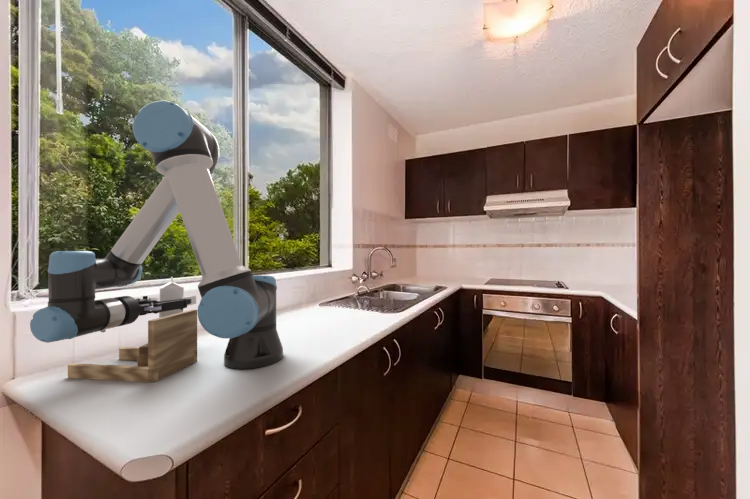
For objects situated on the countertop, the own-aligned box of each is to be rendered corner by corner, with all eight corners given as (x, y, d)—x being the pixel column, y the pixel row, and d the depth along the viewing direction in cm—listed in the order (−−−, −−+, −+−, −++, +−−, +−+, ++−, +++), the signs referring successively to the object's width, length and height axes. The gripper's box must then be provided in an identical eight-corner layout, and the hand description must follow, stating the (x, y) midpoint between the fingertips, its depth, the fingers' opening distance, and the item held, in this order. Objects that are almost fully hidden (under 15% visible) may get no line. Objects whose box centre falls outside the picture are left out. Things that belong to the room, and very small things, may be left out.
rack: (197, 361, 84) (197, 309, 84) (153, 382, 70) (153, 320, 70) (123, 357, 87) (123, 308, 87) (67, 377, 73) (67, 318, 73)
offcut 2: (175, 357, 81) (175, 348, 81) (159, 367, 74) (159, 357, 74) (155, 358, 81) (155, 349, 81) (137, 368, 74) (137, 358, 74)
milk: (159, 352, 92) (160, 278, 92) (158, 346, 97) (159, 276, 97) (182, 348, 96) (184, 277, 96) (181, 343, 101) (182, 276, 101)
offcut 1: (173, 349, 81) (173, 339, 81) (158, 356, 75) (158, 346, 75) (155, 349, 80) (155, 340, 80) (139, 357, 74) (139, 347, 74)
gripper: (76, 326, 80) (150, 310, 102) (153, 328, 77) (212, 311, 99) (77, 297, 80) (150, 287, 102) (153, 298, 77) (211, 288, 99)
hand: (180, 299), depth 101 cm, fingers open, 10 cm apart
